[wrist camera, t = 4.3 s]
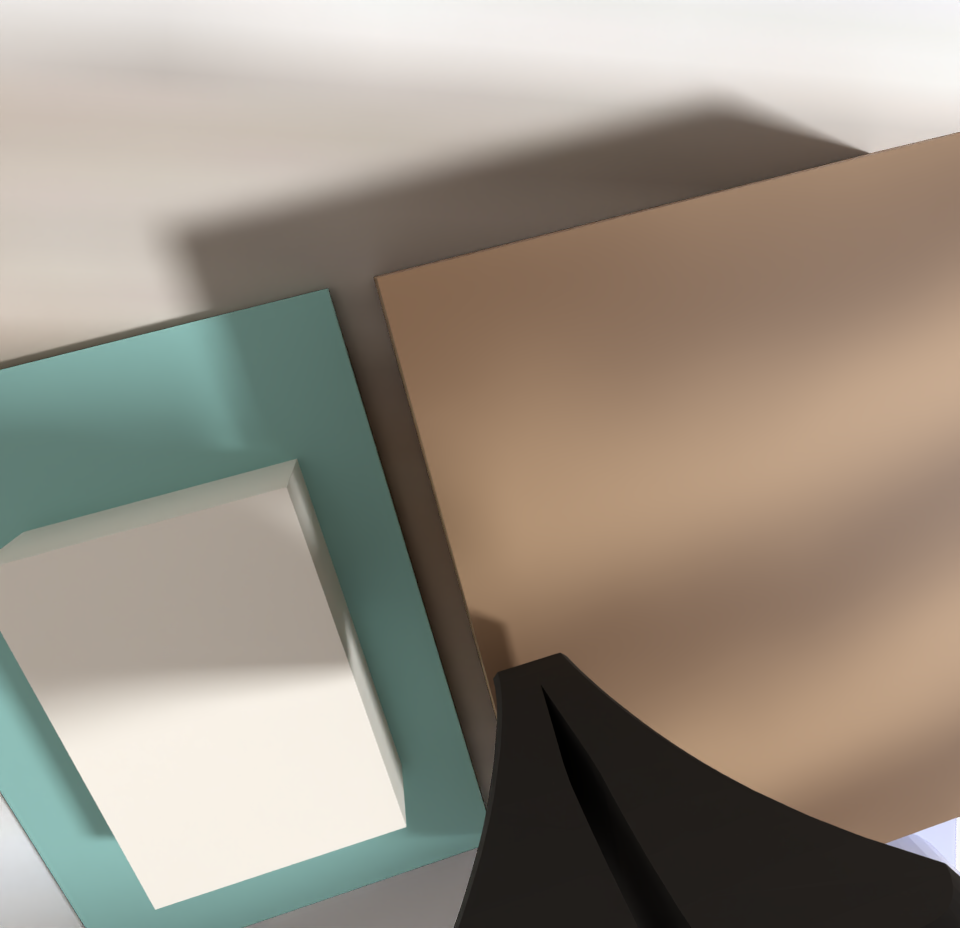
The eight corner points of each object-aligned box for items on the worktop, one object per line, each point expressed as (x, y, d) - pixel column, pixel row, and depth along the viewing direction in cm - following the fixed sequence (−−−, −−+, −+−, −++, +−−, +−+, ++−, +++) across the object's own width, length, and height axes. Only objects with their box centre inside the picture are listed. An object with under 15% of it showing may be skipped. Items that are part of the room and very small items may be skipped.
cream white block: (155, 909, 15) (179, 836, 17) (406, 826, 15) (401, 765, 17) (-32, 573, 12) (23, 531, 14) (286, 487, 12) (297, 458, 14)
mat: (492, 832, 19) (494, 841, 18) (117, 960, 18) (113, 971, 17) (328, 287, 14) (327, 288, 13) (-215, 422, 13) (-227, 426, 12)
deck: (886, 699, 20) (1009, 798, 16) (525, 822, 19) (565, 959, 15) (871, 153, 15) (1045, 111, 11) (373, 276, 14) (376, 277, 10)
